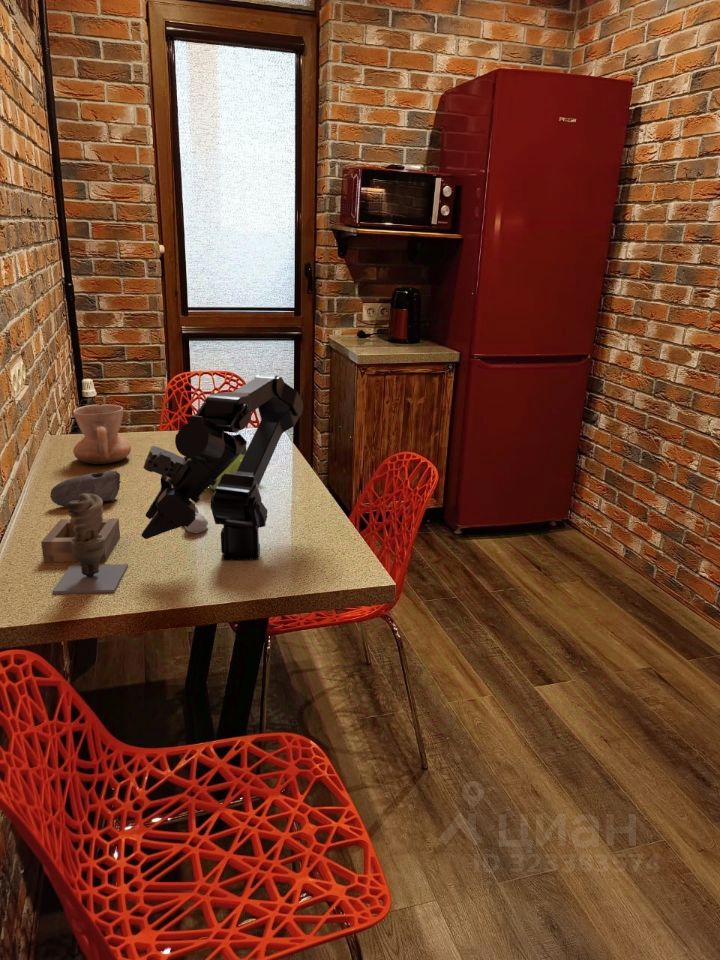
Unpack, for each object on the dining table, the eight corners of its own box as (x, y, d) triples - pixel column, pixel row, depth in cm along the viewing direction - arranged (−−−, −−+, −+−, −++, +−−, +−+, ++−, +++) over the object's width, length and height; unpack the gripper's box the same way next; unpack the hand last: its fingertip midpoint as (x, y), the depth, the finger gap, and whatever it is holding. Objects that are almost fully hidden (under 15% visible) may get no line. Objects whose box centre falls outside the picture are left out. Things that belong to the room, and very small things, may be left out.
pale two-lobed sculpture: (206, 540, 141) (181, 535, 139) (202, 524, 148) (179, 520, 146) (212, 520, 140) (187, 515, 138) (208, 506, 147) (184, 501, 145)
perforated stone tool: (52, 512, 150) (48, 482, 147) (51, 504, 154) (47, 475, 152) (124, 503, 156) (122, 474, 154) (121, 496, 160) (119, 467, 158)
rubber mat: (128, 566, 125) (127, 564, 125) (114, 592, 116) (114, 589, 116) (70, 567, 124) (70, 564, 124) (52, 593, 115) (52, 591, 115)
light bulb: (98, 566, 124) (90, 487, 119) (116, 575, 121) (108, 494, 116) (69, 577, 120) (59, 495, 115) (86, 586, 116) (76, 502, 112)
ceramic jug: (75, 453, 191) (70, 403, 187) (130, 450, 196) (126, 400, 192) (73, 473, 175) (66, 418, 171) (133, 468, 180) (128, 415, 175)
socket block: (120, 537, 138) (118, 518, 136) (106, 561, 127) (103, 541, 126) (62, 538, 137) (60, 519, 135) (43, 562, 126) (41, 541, 125)
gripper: (173, 418, 124) (114, 480, 125) (169, 446, 107) (100, 517, 108) (220, 459, 128) (162, 518, 129) (223, 492, 111) (156, 560, 112)
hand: (145, 526), depth 119 cm, fingers open, 9 cm apart
